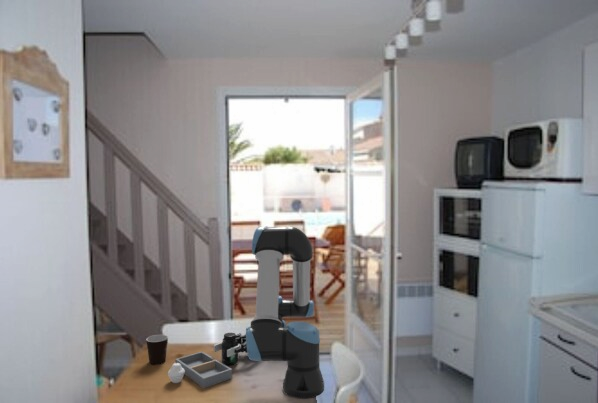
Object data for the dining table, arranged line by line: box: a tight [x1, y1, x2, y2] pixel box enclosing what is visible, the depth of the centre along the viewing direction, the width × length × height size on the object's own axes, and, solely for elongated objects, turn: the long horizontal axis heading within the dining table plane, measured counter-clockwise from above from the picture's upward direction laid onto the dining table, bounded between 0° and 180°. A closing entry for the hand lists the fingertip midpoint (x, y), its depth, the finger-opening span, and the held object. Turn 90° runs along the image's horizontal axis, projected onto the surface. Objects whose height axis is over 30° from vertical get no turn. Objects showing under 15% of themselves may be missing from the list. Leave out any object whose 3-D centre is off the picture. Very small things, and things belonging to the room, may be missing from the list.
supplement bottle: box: [221, 332, 239, 367], centre depth 176 cm, size 7×7×12 cm
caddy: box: [174, 351, 233, 389], centre depth 167 cm, size 23×12×4 cm, turn 41°
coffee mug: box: [145, 334, 169, 366], centre depth 179 cm, size 12×9×10 cm
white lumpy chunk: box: [167, 362, 185, 384], centre depth 159 cm, size 6×6×7 cm
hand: (220, 350), depth 172 cm, fingers open, 8 cm apart
